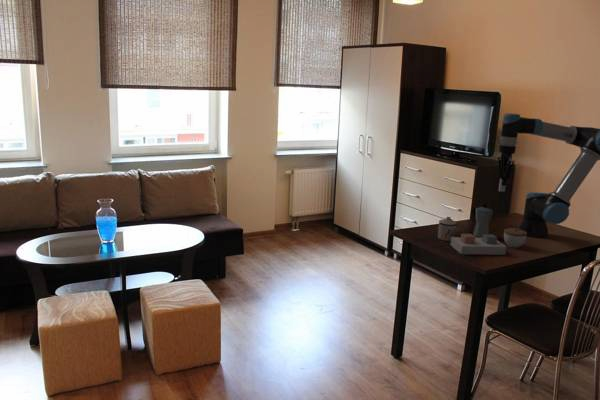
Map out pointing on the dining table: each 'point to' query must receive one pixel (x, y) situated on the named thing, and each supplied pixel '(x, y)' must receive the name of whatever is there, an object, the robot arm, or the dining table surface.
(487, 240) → the grey key
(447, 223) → the teacup with lid
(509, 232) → the lidded jar
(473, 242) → the terracotta key
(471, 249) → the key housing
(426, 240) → the dining table surface
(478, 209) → the coffee maker
